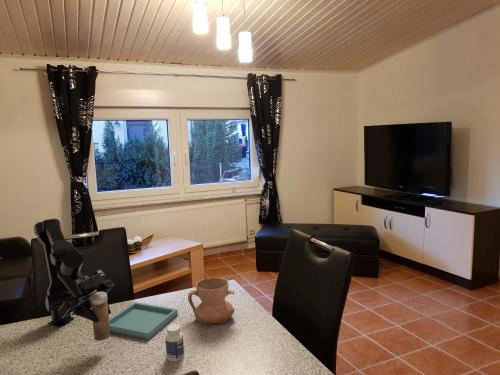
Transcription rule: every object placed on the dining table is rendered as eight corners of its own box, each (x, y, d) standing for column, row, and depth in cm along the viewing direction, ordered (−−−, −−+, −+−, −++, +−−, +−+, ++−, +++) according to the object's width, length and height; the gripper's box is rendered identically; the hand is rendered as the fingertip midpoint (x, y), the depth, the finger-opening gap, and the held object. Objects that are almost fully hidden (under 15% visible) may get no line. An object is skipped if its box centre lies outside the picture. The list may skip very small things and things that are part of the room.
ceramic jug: (239, 310, 140) (237, 275, 138) (232, 329, 126) (230, 290, 124) (195, 309, 143) (193, 275, 141) (183, 328, 129) (180, 290, 127)
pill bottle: (180, 362, 108) (178, 332, 107) (163, 361, 109) (161, 331, 108) (186, 352, 113) (185, 323, 112) (171, 351, 115) (169, 322, 113)
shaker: (90, 339, 113) (86, 297, 112) (102, 331, 118) (98, 291, 116) (102, 342, 112) (98, 299, 110) (114, 333, 116) (110, 293, 114)
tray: (102, 330, 128) (101, 323, 128) (135, 307, 145) (135, 302, 145) (148, 340, 121) (148, 333, 121) (177, 315, 138) (177, 309, 137)
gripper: (61, 276, 105) (93, 317, 102) (107, 256, 122) (136, 291, 119) (44, 298, 108) (75, 338, 106) (92, 275, 126) (119, 310, 123)
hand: (103, 317), depth 113 cm, fingers closed on shaker, 5 cm apart
